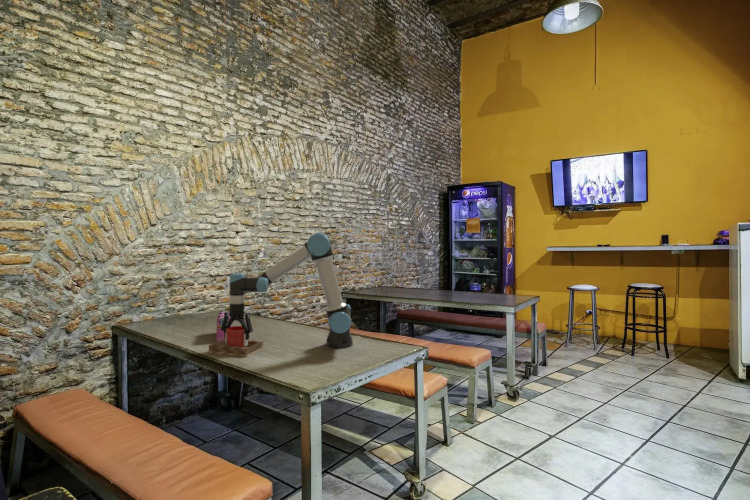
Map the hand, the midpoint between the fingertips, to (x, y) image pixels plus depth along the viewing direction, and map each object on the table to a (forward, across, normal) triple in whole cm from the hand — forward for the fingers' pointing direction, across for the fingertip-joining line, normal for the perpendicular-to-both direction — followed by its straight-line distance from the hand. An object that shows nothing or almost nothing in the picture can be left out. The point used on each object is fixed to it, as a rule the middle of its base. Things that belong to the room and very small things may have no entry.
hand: (236, 344), depth 221 cm
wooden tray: (+3, 0, 0) cm, 3 cm away
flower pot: (+1, 0, 0) cm, 1 cm away
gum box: (+3, +24, -24) cm, 34 cm away
